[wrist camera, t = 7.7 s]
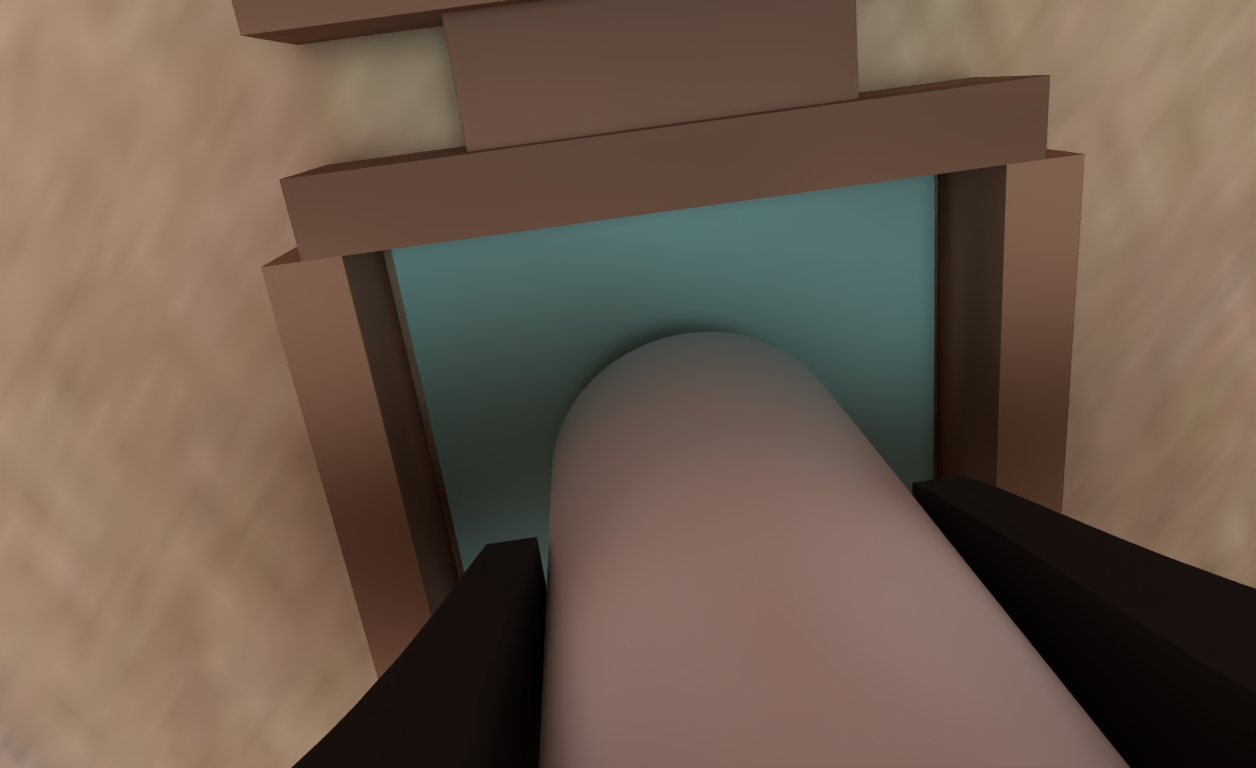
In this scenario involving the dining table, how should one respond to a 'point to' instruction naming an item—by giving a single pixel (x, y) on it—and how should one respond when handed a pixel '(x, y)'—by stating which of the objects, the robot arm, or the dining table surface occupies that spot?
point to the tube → (768, 589)
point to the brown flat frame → (661, 259)
